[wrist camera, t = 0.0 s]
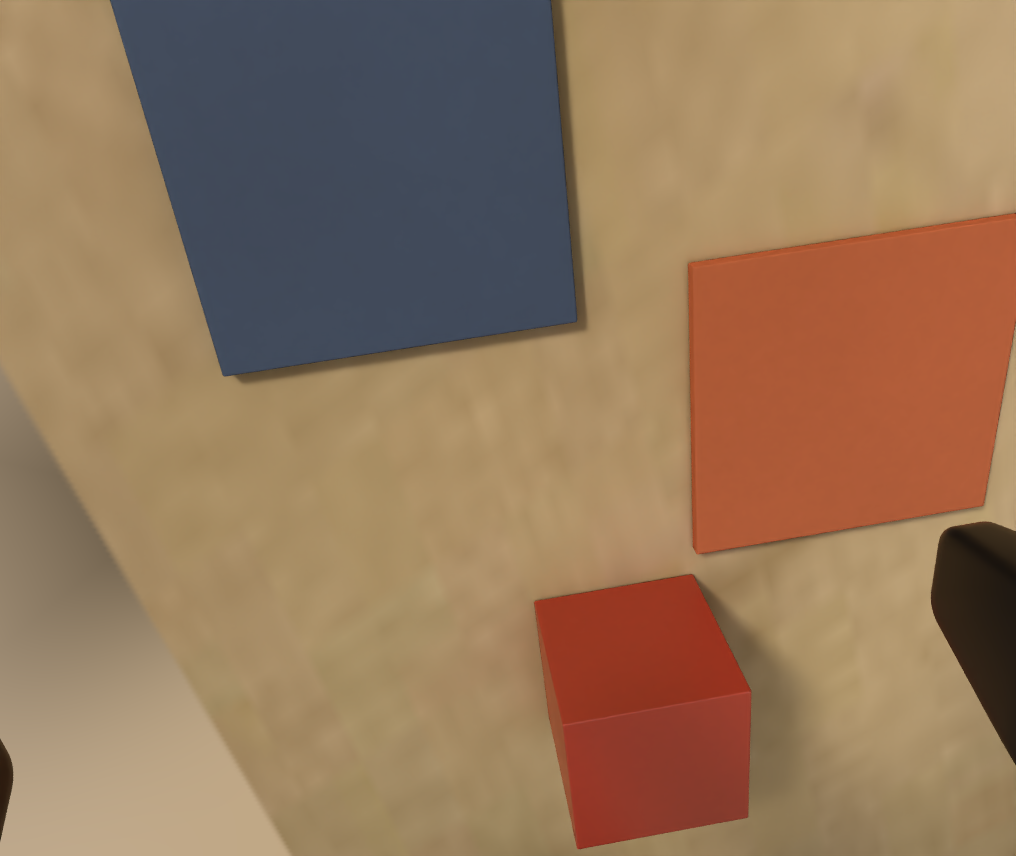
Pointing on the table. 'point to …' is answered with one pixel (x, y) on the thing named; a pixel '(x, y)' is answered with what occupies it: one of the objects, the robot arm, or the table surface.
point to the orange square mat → (847, 380)
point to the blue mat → (358, 169)
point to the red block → (644, 710)
